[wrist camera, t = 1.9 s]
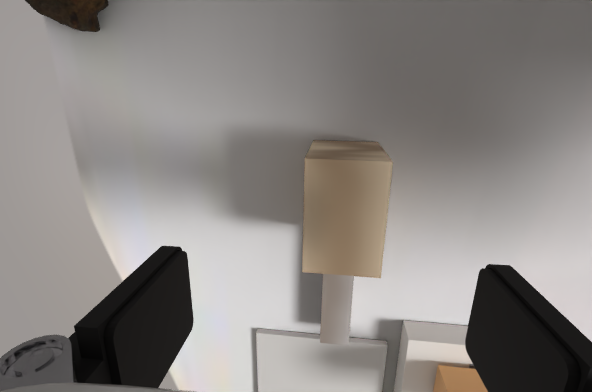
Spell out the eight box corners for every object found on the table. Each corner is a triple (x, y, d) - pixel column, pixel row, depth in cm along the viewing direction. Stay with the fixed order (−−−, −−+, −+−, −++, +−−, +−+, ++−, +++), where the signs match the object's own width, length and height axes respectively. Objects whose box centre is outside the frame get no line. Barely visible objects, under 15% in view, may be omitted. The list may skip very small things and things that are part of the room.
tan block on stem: (377, 142, 20) (393, 161, 15) (361, 327, 25) (367, 397, 19) (313, 140, 21) (304, 158, 15) (308, 322, 25) (299, 389, 19)
